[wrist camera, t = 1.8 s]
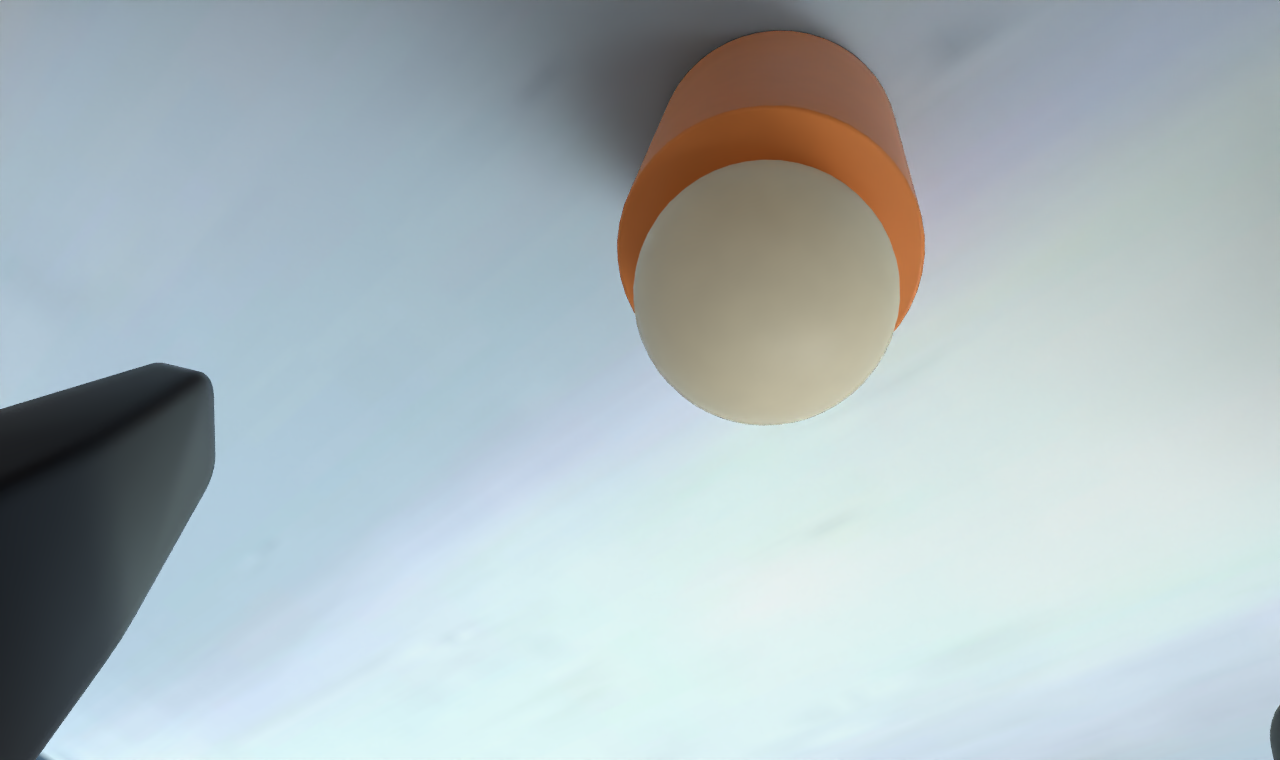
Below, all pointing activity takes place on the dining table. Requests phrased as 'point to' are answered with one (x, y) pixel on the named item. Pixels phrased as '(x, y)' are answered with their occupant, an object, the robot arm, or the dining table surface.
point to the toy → (772, 230)
